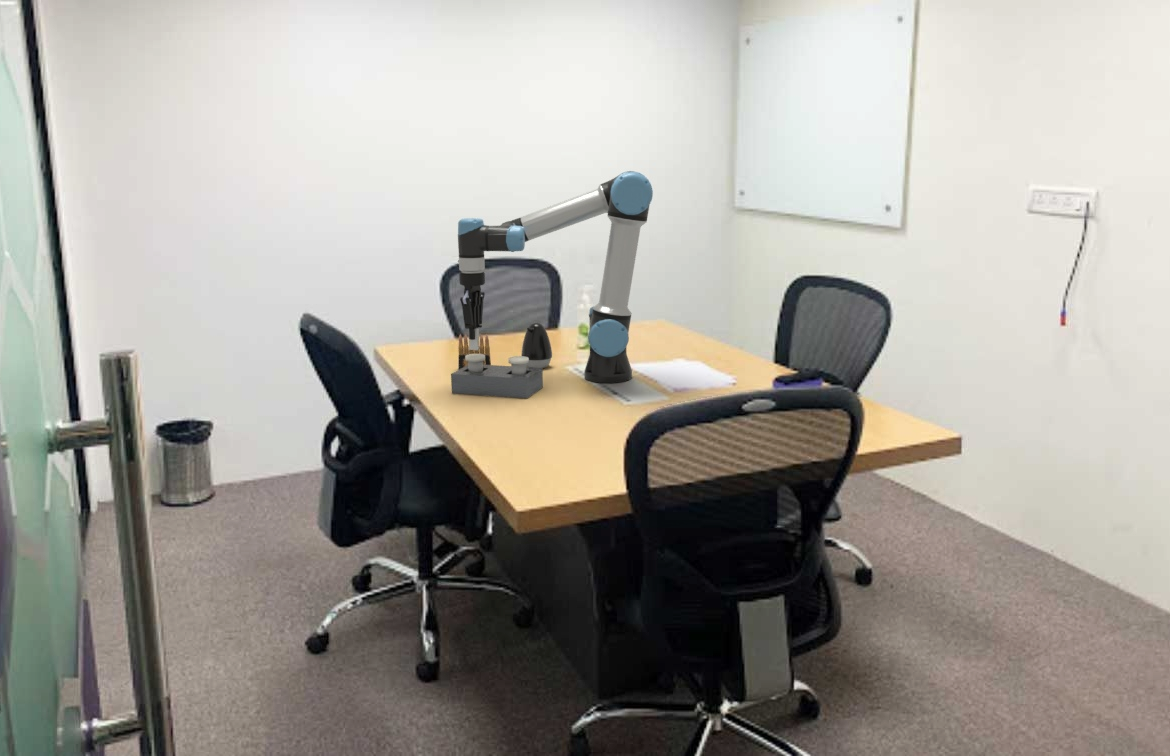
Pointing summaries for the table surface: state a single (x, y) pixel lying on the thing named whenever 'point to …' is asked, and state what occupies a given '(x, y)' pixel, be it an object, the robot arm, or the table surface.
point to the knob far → (475, 362)
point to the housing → (497, 382)
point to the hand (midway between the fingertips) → (474, 349)
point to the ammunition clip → (473, 351)
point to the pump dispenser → (537, 346)
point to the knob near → (518, 364)
